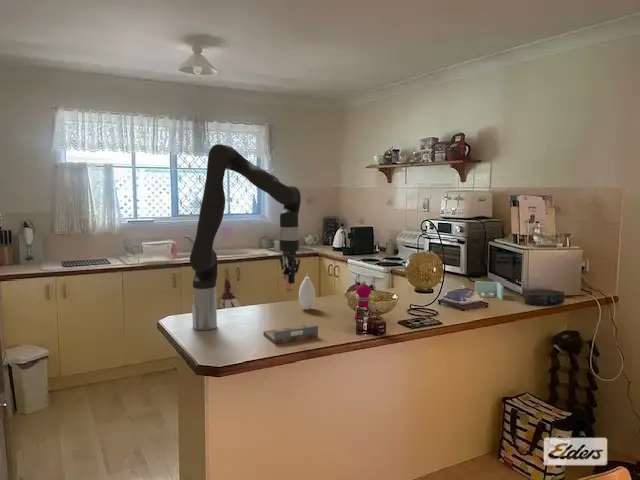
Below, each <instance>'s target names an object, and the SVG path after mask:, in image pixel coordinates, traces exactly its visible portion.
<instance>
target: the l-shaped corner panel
mask: <svg viewBox="0 0 640 480" xmlns="http://www.w3.org/2000/svg"><path fill="white" fill-rule="evenodd" d="M474 283H475V284H474V292H475V291H476V292H477V293H478V294H477V295H480V296H481V298H487V299H488V298H489V299H491V298H494V297H495V296H497V297H498V299H500V300H501V301H503V299H504V285H502V283H500V282H499V281H478V280H476V281H474Z"/></svg>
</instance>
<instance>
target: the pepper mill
mask: <svg viewBox="0 0 640 480" xmlns="http://www.w3.org/2000/svg"><path fill="white" fill-rule="evenodd" d="M355 292H356V294H357V300H358V306H359V305H360V306H364V307H366V308H367V309H368V310H369V311H370V307H369V301H370V299H371V298H370V295H371V293H372V289H371V286H369V284H367V281H365V280H362V281H361V284H359V285H358V286H357V287H356V291H355ZM370 312H371V311H370ZM356 320H357V310H356V311H355V314H354V321H355V322H356Z"/></svg>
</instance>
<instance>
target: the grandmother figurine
mask: <svg viewBox="0 0 640 480" xmlns="http://www.w3.org/2000/svg"><path fill="white" fill-rule="evenodd" d="M285 264H286V265H287V261H285ZM290 266H292V265H290ZM285 275H286V278H285ZM294 276H297V273H295V274H294ZM281 279H283V280H284V286H283V287H284V289H283V292H286V293H287V292H290V291H291V292H292V291H295V282H294V283H293V284H290V283H289V271H288V268H285V270H283V272H282V274H281Z"/></svg>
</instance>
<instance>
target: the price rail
mask: <svg viewBox="0 0 640 480" xmlns="http://www.w3.org/2000/svg"><path fill="white" fill-rule="evenodd" d="M312 334H318V335H319V325H313V326H307V327H305V328H298V329H291V330H284V331H277V332H274V340H279V339H286V338H292V337H299V336H305V335H312Z"/></svg>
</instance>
